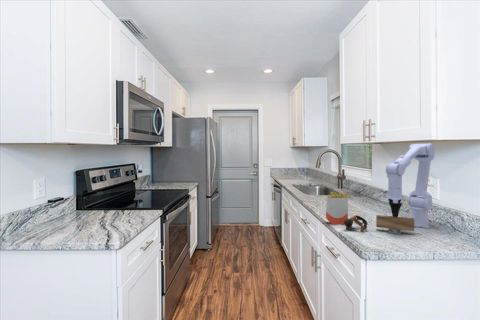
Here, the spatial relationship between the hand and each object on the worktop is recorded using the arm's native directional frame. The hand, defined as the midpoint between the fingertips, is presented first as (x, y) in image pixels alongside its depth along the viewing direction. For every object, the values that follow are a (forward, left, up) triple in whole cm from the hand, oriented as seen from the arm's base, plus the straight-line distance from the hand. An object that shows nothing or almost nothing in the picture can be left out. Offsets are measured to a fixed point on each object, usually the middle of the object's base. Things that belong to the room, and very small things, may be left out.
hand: (394, 214), depth 128 cm
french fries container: (-3, -28, -9) cm, 30 cm away
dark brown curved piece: (+4, -18, -9) cm, 21 cm away
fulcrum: (0, 0, -9) cm, 9 cm away
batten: (0, 0, -7) cm, 7 cm away
